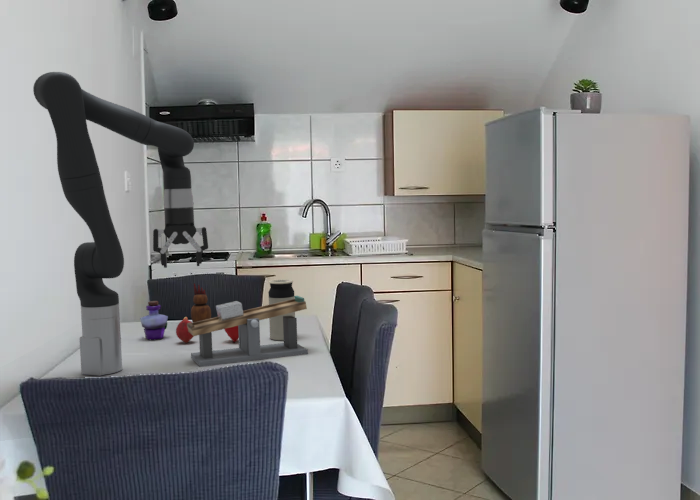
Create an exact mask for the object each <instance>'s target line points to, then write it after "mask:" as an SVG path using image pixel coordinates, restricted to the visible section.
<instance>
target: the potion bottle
mask: <svg viewBox="0 0 700 500" xmlns="http://www.w3.org/2000/svg"><path fill="white" fill-rule="evenodd" d="M145 308H146V311H148V315H145V316H142V317H140V318H139V320H140V323H141V327H142V328H143V332H144V336H145V339H148V340H147V341H158V340H163V339H164V338H165V337H164V335H165V331H166V329H167V328H168V319H169V316H168V315H165V314H160V313H159V310H162V309H161V308H162V305H161V304H159V301H158V300H152V301H147V305H146V307H145Z"/></svg>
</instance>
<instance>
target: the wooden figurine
mask: <svg viewBox="0 0 700 500" xmlns="http://www.w3.org/2000/svg"><path fill="white" fill-rule="evenodd" d="M196 285H198V286H196ZM193 290H194V291H193V293H194V295H193V298H192V301H193V305H192V307H191V310H190V318H191V322H192V323H193V322H197V321H202V320H206V319H210V318H212V309H211V306H209V304H207V303H208V301H209V299H208V296H207V294H206V289H203V287H200V284H195V283H193Z"/></svg>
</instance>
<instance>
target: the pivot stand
mask: <svg viewBox="0 0 700 500" xmlns="http://www.w3.org/2000/svg"><path fill="white" fill-rule="evenodd" d="M297 322H298V321H297V317H296V316H295V317H293V316H283V334H284V340H283V342H280V343H273V344H272V343H271V344H262V345H261V334H260V331H261V330H260V328H261V327H260V320H259V319H258V318H254V319H247V324H242V325H238V334H239V338H238V347H234V348H226V349H225V348H224V349H217V350H216V349H215V350H213V339H212V338H213V335H212V333H213V332H209V333H205V334H201V335H198V339H199V343H198V344H199V351H197V352H191V353H190V357H191V359H192V360H193V361H194V362H195V364H196V365H197V366H198V367H199V366H201V367H209V366H216V365H225V363H226V364H235V363H240V362H248V361H249V362H251V361H259V360H265V359H266V360H267V359H275V358H283V357H292V356H299V355H301V356H302V355H308V354H309V353H308V349H307V348H305V347H304V346H302V345H300V344H299V343H298V325H297V324H298V323H297ZM234 362H235V363H234Z"/></svg>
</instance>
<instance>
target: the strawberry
mask: <svg viewBox="0 0 700 500" xmlns="http://www.w3.org/2000/svg"><path fill="white" fill-rule="evenodd" d="M223 330H224V331H225V333H226V334H227V336H228V338H230V339H231V341H232V342H233V343H236V342H237V341H239V334H238V326H234V327H230V328H226V329H223Z"/></svg>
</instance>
